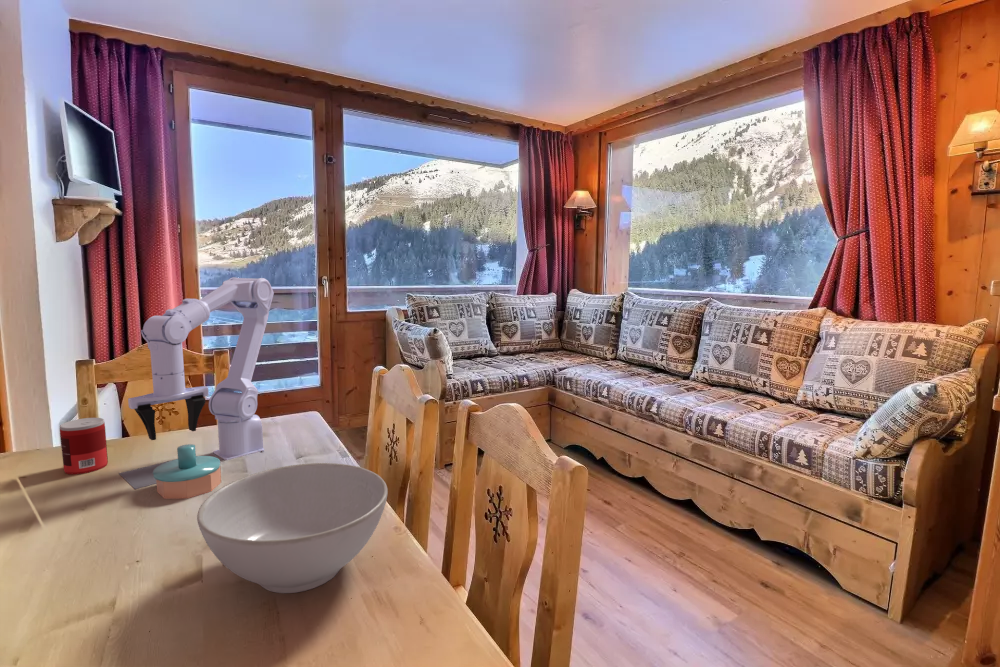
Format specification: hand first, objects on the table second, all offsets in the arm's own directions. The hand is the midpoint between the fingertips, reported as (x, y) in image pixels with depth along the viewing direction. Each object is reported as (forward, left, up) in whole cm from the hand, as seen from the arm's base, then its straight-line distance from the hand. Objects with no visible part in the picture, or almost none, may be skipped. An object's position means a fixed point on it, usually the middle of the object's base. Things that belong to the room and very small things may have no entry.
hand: (173, 434), depth 111 cm
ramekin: (0, +7, -10) cm, 12 cm away
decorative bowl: (-1, +51, -11) cm, 52 cm away
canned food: (+12, -21, -11) cm, 26 cm away
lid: (0, +6, -6) cm, 9 cm away
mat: (+2, -6, -10) cm, 12 cm away
